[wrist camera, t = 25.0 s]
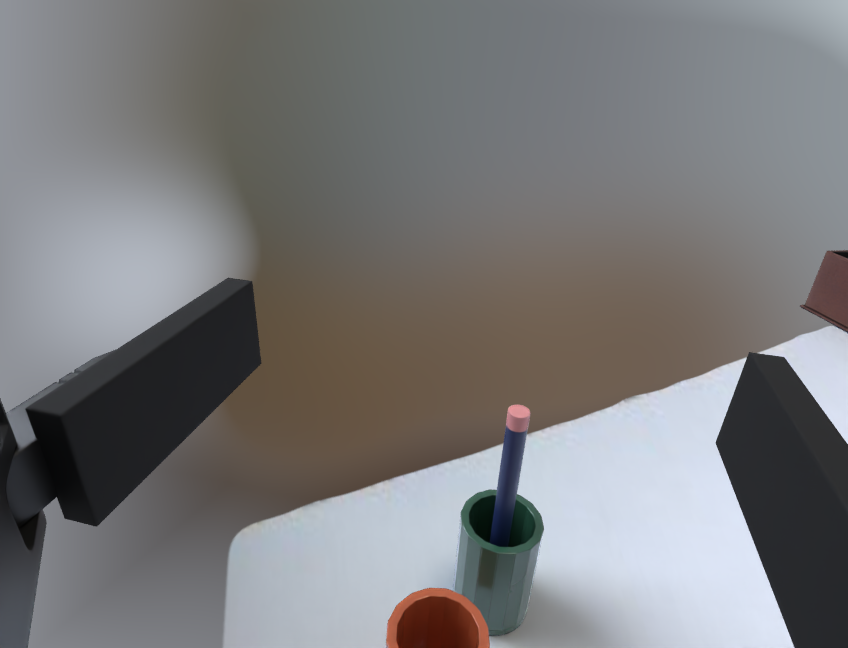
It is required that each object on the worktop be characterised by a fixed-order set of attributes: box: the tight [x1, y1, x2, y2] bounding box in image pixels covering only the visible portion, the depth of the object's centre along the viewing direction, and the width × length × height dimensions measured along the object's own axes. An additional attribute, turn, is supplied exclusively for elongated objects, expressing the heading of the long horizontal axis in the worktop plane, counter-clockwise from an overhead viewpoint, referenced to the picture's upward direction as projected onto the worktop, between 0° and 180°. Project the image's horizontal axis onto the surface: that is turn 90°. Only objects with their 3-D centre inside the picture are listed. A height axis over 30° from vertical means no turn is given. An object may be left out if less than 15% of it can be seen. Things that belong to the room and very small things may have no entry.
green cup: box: [453, 490, 544, 635], centre depth 41 cm, size 6×6×9 cm
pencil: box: [490, 405, 530, 547], centre depth 39 cm, size 1×1×18 cm
